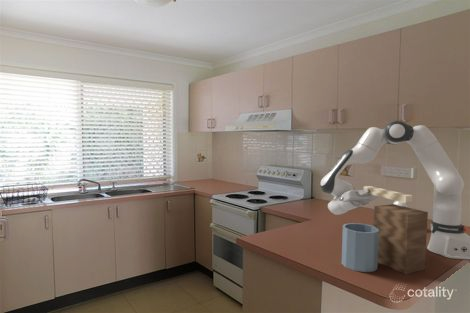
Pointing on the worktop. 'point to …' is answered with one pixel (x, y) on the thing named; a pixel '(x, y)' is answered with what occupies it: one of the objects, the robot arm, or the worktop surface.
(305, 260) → the worktop surface
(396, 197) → the slat
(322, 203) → the worktop surface
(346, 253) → the pot
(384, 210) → the stand
